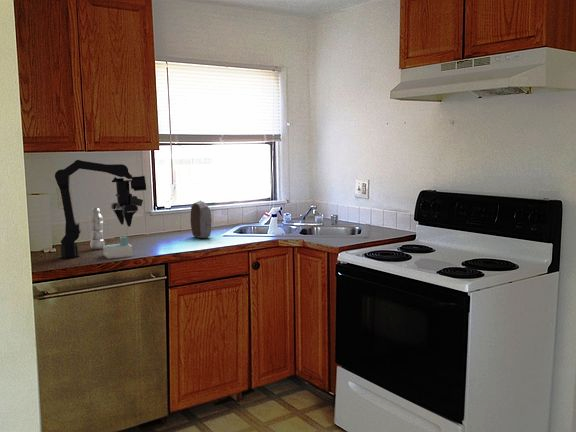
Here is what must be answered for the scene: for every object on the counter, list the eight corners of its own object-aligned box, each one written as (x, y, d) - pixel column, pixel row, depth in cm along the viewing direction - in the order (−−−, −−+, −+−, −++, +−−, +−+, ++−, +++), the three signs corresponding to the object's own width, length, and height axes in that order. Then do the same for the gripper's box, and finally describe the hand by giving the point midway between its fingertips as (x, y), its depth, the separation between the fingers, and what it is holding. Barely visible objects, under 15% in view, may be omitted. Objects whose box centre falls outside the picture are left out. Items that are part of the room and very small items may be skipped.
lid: (108, 249, 246) (108, 239, 246) (105, 246, 252) (105, 237, 252) (129, 247, 250) (129, 237, 250) (126, 244, 257) (125, 235, 256)
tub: (107, 258, 245) (107, 248, 245) (103, 255, 253) (103, 245, 253) (132, 255, 251) (132, 245, 250) (128, 252, 258) (127, 243, 258)
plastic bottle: (88, 249, 269) (85, 208, 267) (101, 247, 274) (99, 207, 271) (94, 251, 265) (91, 209, 262) (107, 249, 269) (105, 208, 267)
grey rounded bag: (189, 236, 303) (188, 200, 300) (203, 235, 308) (201, 199, 305) (202, 240, 291) (201, 202, 288) (216, 238, 296) (215, 201, 293)
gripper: (147, 191, 250) (150, 225, 252) (133, 189, 265) (135, 221, 268) (123, 193, 244) (126, 228, 246) (109, 191, 259) (112, 224, 261)
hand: (125, 225), depth 255 cm, fingers open, 9 cm apart
